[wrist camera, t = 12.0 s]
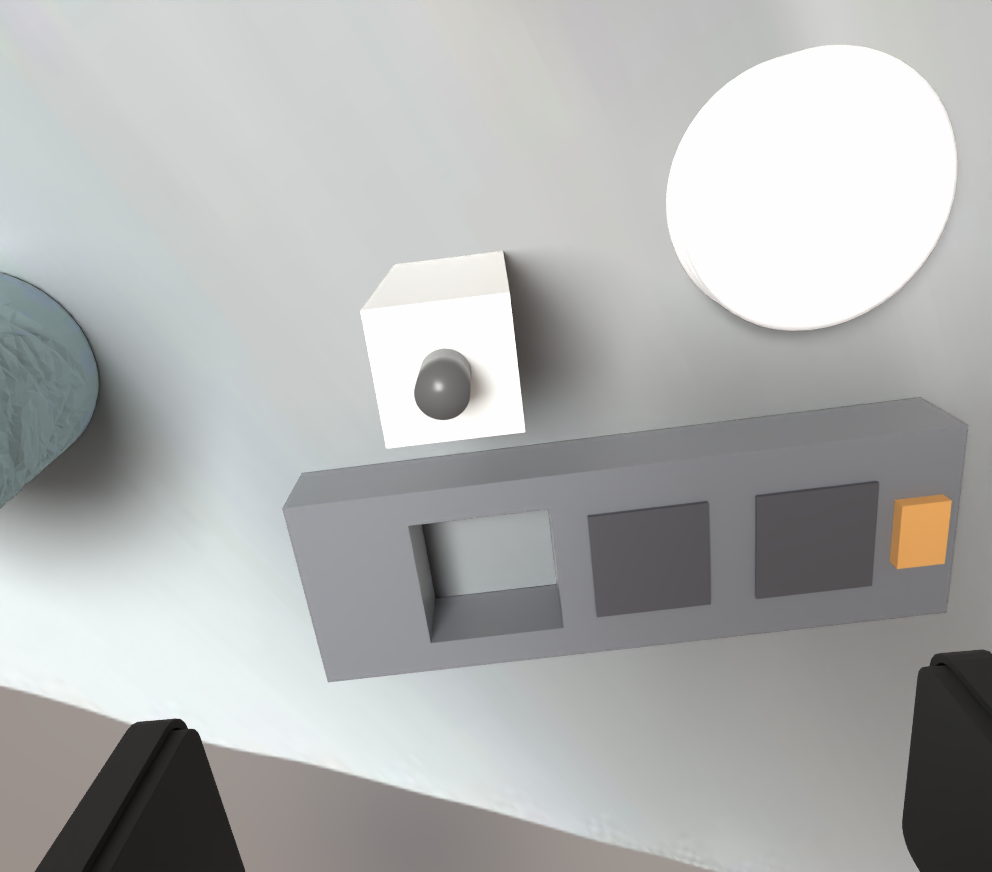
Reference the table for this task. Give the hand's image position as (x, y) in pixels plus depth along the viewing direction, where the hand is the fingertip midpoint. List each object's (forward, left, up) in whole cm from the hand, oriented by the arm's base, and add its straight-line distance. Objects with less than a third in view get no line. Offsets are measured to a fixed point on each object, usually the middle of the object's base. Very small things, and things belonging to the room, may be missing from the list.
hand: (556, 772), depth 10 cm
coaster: (-12, -4, -24) cm, 27 cm away
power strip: (-4, +10, -24) cm, 26 cm away
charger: (+2, -1, -24) cm, 24 cm away
